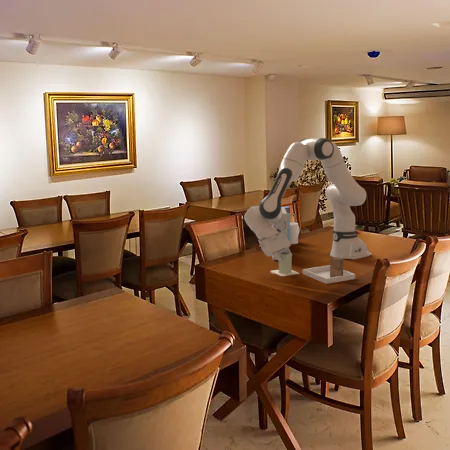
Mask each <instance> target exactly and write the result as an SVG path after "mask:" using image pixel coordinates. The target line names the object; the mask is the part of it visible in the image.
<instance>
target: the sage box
mask: <svg viewBox="0 0 450 450" xmlns="http://www.w3.org/2000/svg"><path fill="white" fill-rule="evenodd" d="M279 256H280V257H282V258H283V260H282V261H280V262H279V261H278V270H279V273H286V274H288V273H290V272H291V270H292V266H293V265H292V261H293V259H292V258H293V253H292V252H291V253H287V252H282V253H280V254H279Z"/></svg>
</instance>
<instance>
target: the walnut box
mask: <svg viewBox="0 0 450 450" xmlns="http://www.w3.org/2000/svg"><path fill="white" fill-rule="evenodd" d="M344 260H345V259H344V258H340V257H332V258H330V263H329V265H330V278H331V277H337V276H343V270H344Z"/></svg>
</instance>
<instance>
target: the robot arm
mask: <svg viewBox="0 0 450 450" xmlns="http://www.w3.org/2000/svg"><path fill="white" fill-rule="evenodd" d="M306 161H320V162H321V165H322V167H323V170H324V173H325V176H326V178H327V180H328V181H329V182H330V183H331V184H328V186H327V187H326V189H325V193H324V194H325V197H326V199H327V201H329V204H330V206H331V210H332V213H333V230H332V245H331V250H330V254H329V256H330V257H332V258H333V257H340V258H344V260H346V259H348V260H358V259H362V258H367V257H370V255H371V256H372V252H370V251H368V247H367V244H366V242H365V241H363V240H362V239H361V238H359V237H358V235H359V236H360V235H362V231H361V230H356V216H355V214H354V212H353V211H352V210H351V207H357V206H361V205H363V204H365V201H366V199H367V192H366V190H365V188H364V187H362V186H361V185H360V184H359V183H358V182H357V181H356V179H354V177H353V176H352V174H351V173H350V171H349V170H348V167H347V164H346V163H345V160H344V156H343V155H342V152H341V149H339V147H338V145H337V144H336V143H335V142H333V141H331V139H328V138H325V137H310V138H304V139H301V140H298V141H295V142H293V143H291V145H290V146H289V147H288V148H287V150H286V152H285V154H284V155H283V157H282V159H281V161H280V165H279V168H278V172H277V174H276V178H275V180H274V183H273V185H272V186H271V189H270V190H269V193H268V194H267V195H266V196H265V197H264V198H263V199H262V200H261V202H260V204H259V205H257V206H256V205H255V206H254V205H253V206H251V207H249V208H248V209H247V210H246V212H245V213H244V214H243V215H244V217H243V219H244V221H245V223H246V225H247V226H248V227H249V229H250V230H251V231H252V232H253V233H254V234H255V236H256V237H257V239H258V243H259V248H260V247H261V248H260V249H261V250H262V251H263V252H262V253H264V255H265V256H267V257H269V258H270V257H272V256H273V257H274V258H276V259H277V260H276V261H278V263H279V262H280V261H282V260H283V258H282V257H280V256H279V255H278V253H279V252H281V251H283V250H284V251H285V252H287V253H292V252H291V250H290V247H291V246H292V244H291V243H290V241H289V240H288V239H287V237H286V236H285V235H284V234H282V230H281V229H277V228H273V227H272V226H271V224H273V223H275V222H277V221H278V220H280V218H281V217H282V209H281V207H282V198H283V197H284V195H285V192H286V190H287V188H288V187H289V185H290V184H291V183H292V182H295V181H297V180H298V179H299V177H300V176H301V174H302V172H303V170H304V168H305V165H306V163H307V162H306Z"/></svg>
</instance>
